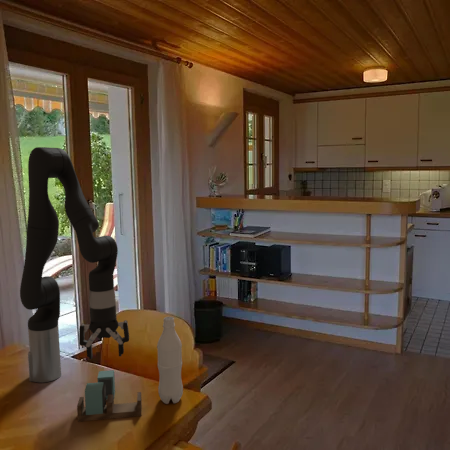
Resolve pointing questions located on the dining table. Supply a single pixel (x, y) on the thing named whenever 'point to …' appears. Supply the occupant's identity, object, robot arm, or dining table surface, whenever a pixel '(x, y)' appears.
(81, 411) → the rail
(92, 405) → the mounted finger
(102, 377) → the teal block
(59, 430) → the dining table surface
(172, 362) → the water bottle
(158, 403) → the dining table surface
